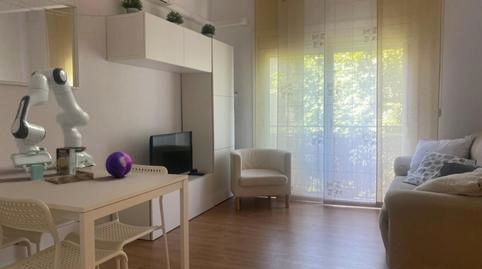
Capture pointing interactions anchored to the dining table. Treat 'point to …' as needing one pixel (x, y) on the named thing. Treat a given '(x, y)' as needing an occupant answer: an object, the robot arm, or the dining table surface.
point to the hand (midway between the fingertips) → (37, 171)
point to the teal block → (36, 172)
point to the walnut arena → (72, 177)
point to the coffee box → (65, 161)
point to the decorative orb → (118, 164)
